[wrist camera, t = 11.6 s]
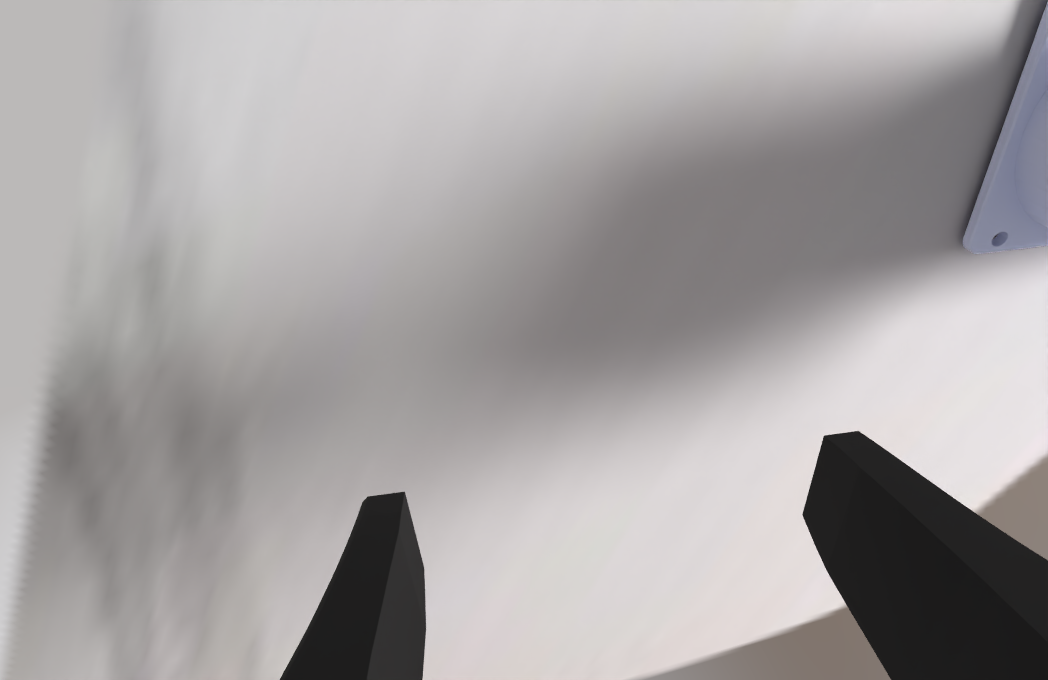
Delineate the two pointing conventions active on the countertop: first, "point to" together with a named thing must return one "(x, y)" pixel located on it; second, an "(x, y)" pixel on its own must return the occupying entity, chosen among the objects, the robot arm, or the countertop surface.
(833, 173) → the countertop surface
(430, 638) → the countertop surface
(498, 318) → the countertop surface
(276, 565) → the countertop surface
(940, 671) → the robot arm
